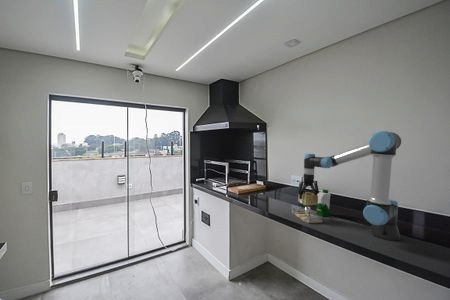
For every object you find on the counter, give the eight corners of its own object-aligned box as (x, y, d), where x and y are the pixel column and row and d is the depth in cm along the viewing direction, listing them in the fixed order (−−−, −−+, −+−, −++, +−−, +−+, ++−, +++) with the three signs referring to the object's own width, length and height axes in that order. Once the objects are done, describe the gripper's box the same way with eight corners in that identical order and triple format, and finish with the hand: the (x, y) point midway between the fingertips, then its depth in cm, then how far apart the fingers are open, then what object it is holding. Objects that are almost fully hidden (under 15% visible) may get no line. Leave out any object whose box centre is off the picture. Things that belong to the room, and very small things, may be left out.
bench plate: (322, 222, 150) (322, 220, 150) (307, 223, 148) (307, 221, 148) (307, 213, 169) (307, 211, 169) (293, 214, 167) (293, 212, 167)
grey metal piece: (321, 220, 150) (321, 210, 150) (309, 221, 148) (309, 211, 148) (306, 211, 169) (306, 203, 169) (294, 212, 167) (295, 203, 166)
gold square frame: (317, 204, 155) (318, 195, 154) (305, 205, 152) (306, 195, 152) (309, 200, 164) (309, 192, 164) (298, 201, 162) (298, 192, 162)
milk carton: (331, 215, 165) (332, 191, 164) (323, 217, 161) (323, 191, 160) (322, 212, 173) (323, 188, 172) (314, 213, 169) (314, 189, 169)
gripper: (318, 173, 163) (317, 200, 164) (292, 173, 159) (291, 201, 160) (325, 174, 156) (324, 203, 157) (298, 174, 151) (297, 204, 152)
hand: (307, 202), depth 158 cm, fingers closed on gold square frame, 10 cm apart
